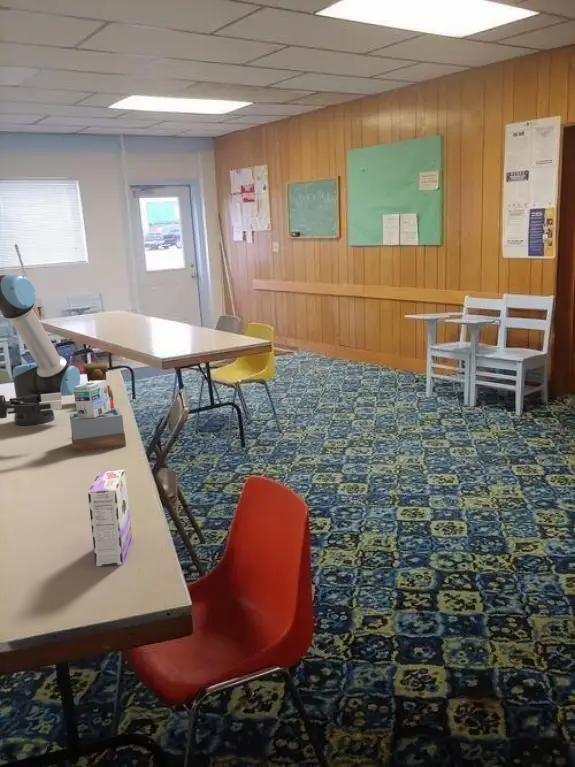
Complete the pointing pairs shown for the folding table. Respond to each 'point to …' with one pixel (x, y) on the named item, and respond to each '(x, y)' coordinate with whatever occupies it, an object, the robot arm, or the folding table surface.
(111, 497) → the candy box
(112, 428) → the tower top block
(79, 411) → the light bulb box
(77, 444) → the tower base block
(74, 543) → the folding table surface
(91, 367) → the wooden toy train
